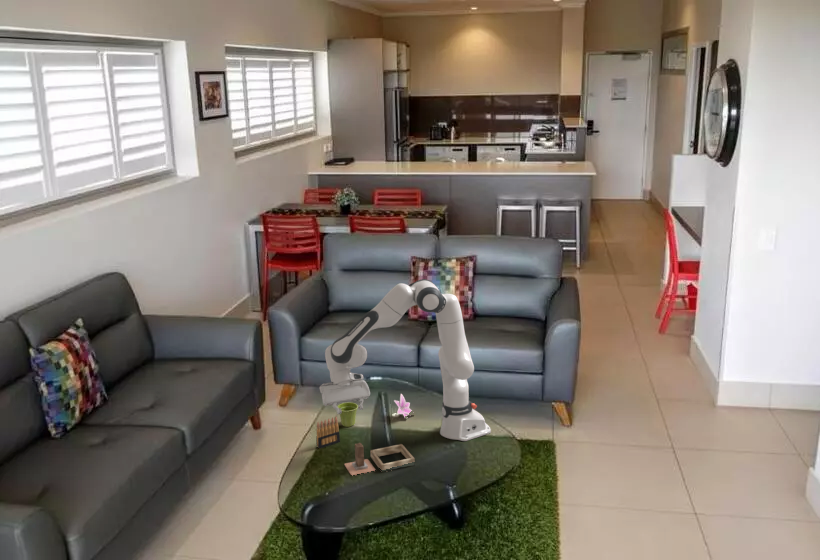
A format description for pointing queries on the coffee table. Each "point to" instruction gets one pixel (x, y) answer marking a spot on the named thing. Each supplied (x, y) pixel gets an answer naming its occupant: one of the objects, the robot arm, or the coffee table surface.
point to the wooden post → (359, 458)
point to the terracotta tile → (354, 472)
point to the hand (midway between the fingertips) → (350, 411)
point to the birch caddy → (391, 450)
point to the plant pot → (348, 413)
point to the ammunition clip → (327, 433)
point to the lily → (403, 406)
